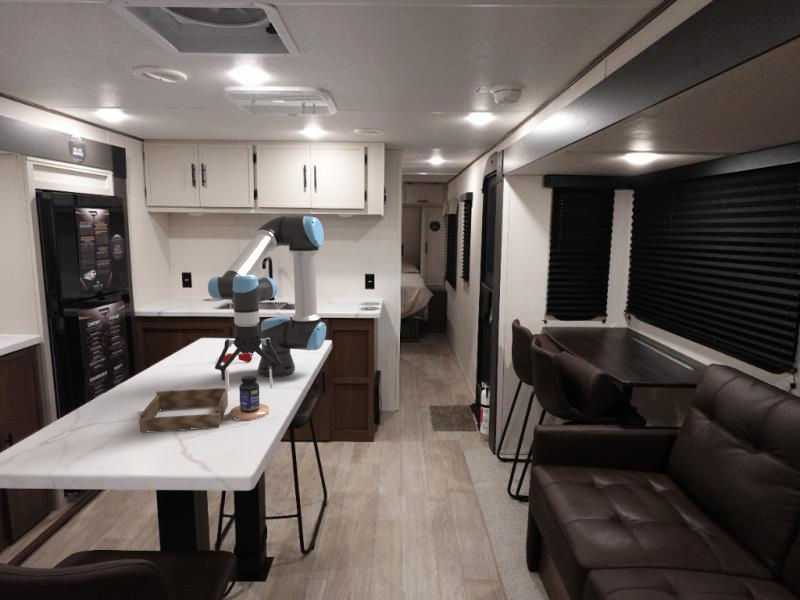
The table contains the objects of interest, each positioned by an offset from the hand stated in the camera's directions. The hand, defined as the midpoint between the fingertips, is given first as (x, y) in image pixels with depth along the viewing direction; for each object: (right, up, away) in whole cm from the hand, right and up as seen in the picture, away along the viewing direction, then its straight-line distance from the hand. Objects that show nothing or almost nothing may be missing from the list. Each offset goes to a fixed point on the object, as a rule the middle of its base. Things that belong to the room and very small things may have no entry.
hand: (249, 388), depth 157 cm
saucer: (0, -8, +1) cm, 8 cm away
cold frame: (-19, -9, -3) cm, 21 cm away
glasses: (-27, +1, +68) cm, 73 cm away
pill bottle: (0, -7, +1) cm, 7 cm away
